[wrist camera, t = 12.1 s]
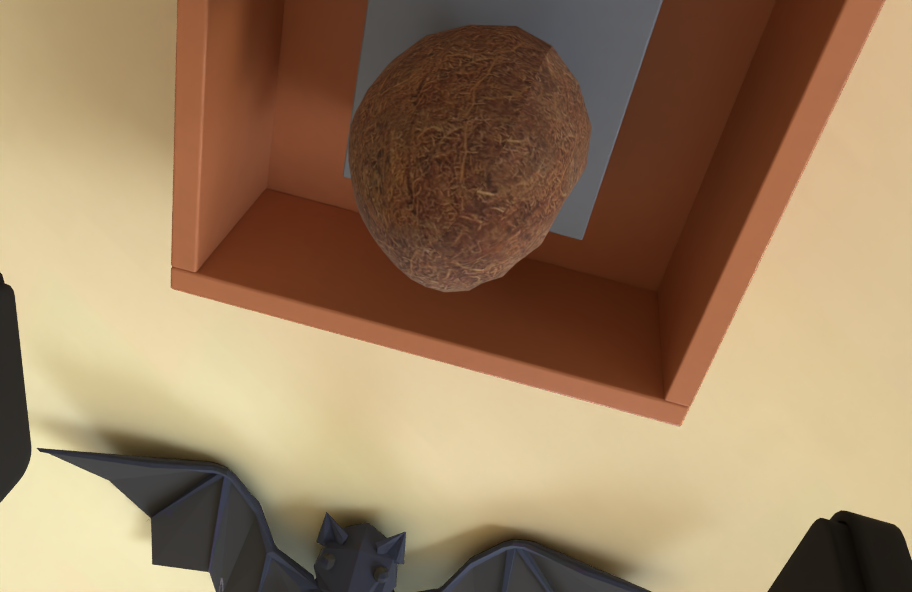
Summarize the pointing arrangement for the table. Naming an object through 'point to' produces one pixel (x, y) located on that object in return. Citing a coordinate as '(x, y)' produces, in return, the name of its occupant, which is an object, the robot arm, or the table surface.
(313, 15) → the box
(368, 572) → the decorative bat
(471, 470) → the table surface
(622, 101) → the block
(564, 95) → the coconut
